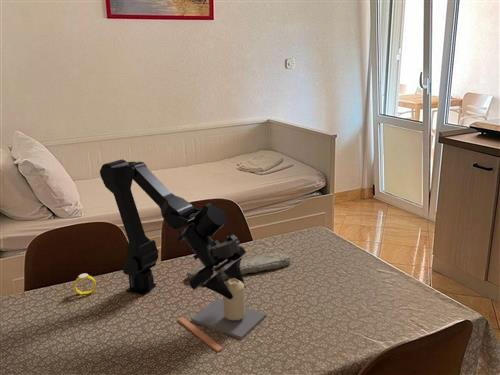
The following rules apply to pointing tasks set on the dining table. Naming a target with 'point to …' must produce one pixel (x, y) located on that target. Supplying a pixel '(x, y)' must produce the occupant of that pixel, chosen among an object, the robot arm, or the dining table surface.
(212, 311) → the mat
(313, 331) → the dining table surface
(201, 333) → the orange curved strip
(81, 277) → the gold diamond ring
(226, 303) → the candle
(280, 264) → the long grey stone
